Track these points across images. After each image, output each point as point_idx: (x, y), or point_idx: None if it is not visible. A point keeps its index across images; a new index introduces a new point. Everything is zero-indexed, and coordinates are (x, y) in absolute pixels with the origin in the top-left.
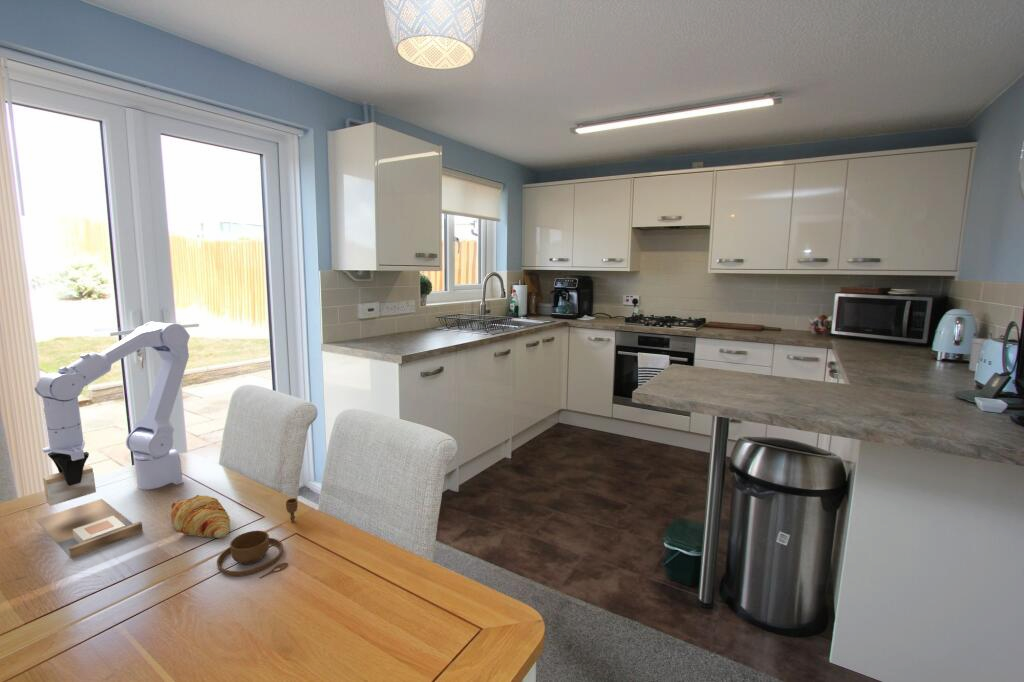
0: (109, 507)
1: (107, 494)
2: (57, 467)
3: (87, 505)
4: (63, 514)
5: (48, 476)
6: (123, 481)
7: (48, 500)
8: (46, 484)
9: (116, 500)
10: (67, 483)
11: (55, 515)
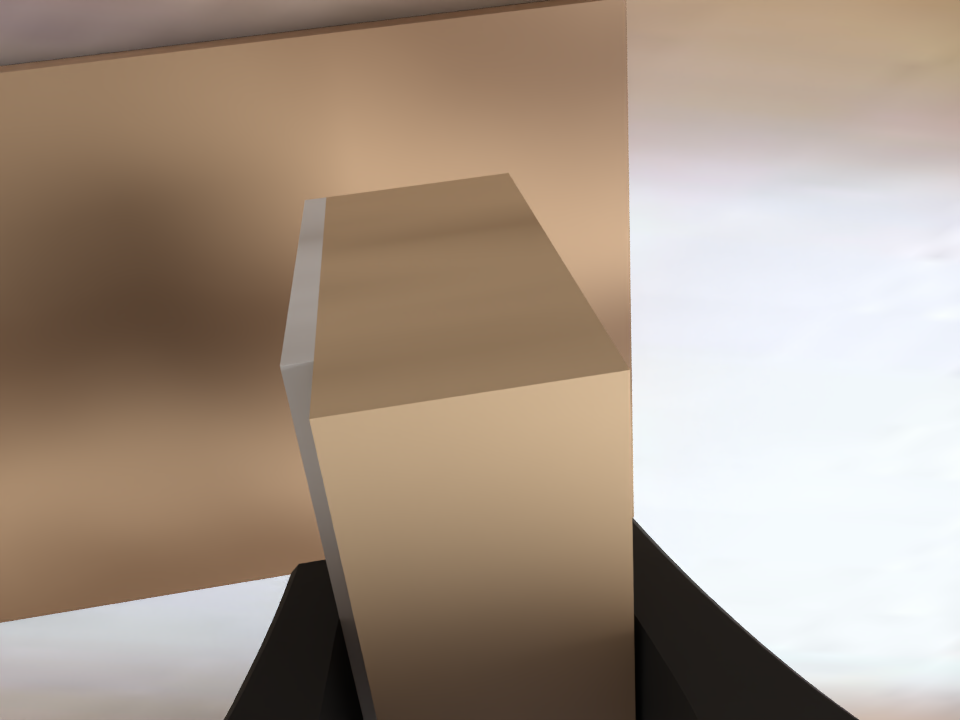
0: None
1: (771, 533)
2: (748, 701)
3: None
4: None
5: (574, 462)
6: (933, 633)
7: (390, 210)
8: (361, 348)
9: None
10: (318, 579)
11: (566, 171)
